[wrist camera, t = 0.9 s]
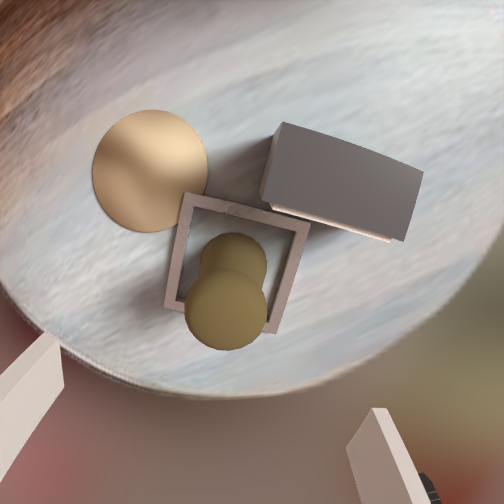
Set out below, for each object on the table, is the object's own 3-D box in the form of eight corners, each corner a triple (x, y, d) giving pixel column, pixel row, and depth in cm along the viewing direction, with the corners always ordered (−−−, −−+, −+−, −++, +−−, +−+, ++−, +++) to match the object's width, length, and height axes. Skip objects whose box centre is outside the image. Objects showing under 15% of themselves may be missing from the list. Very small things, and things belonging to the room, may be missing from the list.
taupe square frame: (187, 191, 26) (185, 191, 26) (309, 221, 27) (311, 223, 26) (165, 303, 29) (163, 307, 29) (275, 330, 30) (276, 334, 29)
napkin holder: (273, 134, 25) (282, 121, 18) (379, 168, 26) (423, 172, 18) (257, 195, 27) (259, 206, 19) (363, 224, 27) (401, 247, 20)
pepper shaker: (205, 298, 29) (183, 367, 19) (195, 236, 28) (162, 279, 17) (270, 292, 29) (279, 361, 18) (263, 228, 27) (271, 269, 17)
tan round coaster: (108, 103, 24) (106, 103, 24) (221, 122, 25) (221, 121, 25) (86, 217, 27) (84, 217, 27) (192, 244, 28) (192, 244, 27)
